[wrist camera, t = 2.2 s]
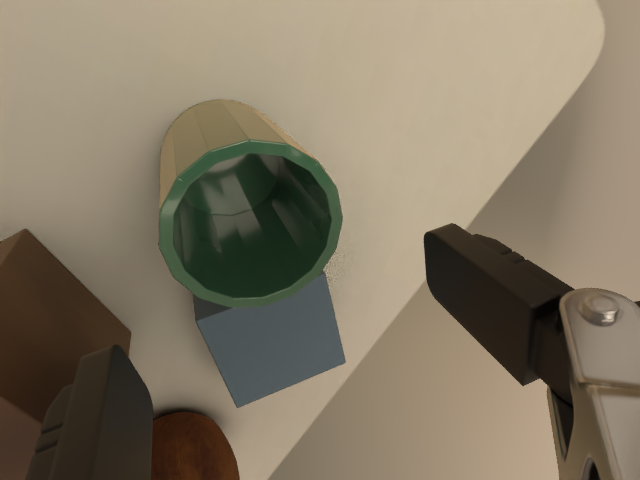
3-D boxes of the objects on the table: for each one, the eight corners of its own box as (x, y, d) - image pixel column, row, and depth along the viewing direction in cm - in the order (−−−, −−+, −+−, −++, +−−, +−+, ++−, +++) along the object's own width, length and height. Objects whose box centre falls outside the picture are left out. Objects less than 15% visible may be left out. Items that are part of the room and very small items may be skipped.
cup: (138, 119, 19) (124, 175, 12) (267, 84, 20) (324, 117, 13) (187, 233, 22) (199, 331, 15) (295, 197, 23) (353, 273, 16)
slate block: (190, 279, 23) (195, 321, 20) (303, 240, 25) (325, 273, 21) (227, 361, 27) (237, 409, 24) (324, 323, 28) (346, 363, 25)
